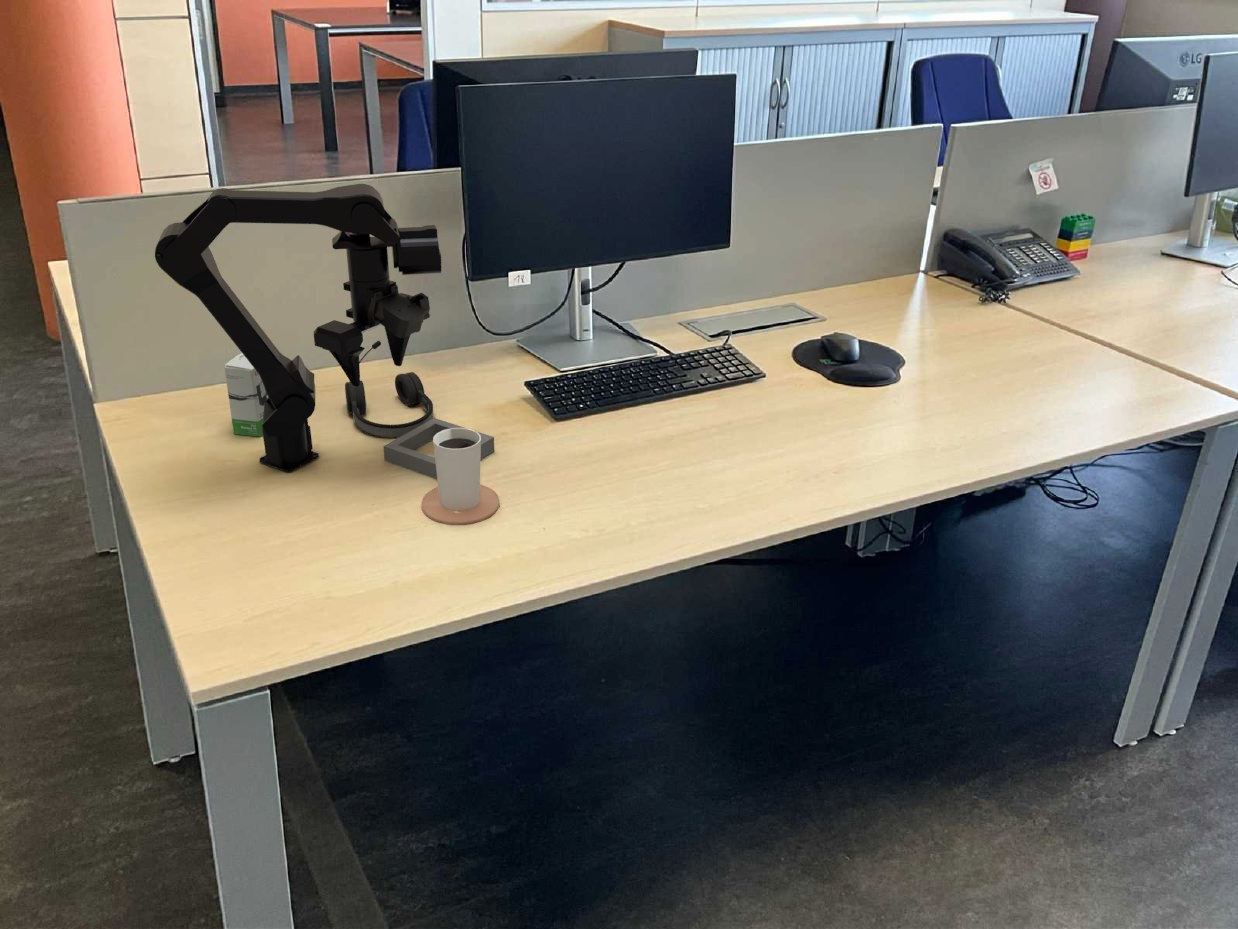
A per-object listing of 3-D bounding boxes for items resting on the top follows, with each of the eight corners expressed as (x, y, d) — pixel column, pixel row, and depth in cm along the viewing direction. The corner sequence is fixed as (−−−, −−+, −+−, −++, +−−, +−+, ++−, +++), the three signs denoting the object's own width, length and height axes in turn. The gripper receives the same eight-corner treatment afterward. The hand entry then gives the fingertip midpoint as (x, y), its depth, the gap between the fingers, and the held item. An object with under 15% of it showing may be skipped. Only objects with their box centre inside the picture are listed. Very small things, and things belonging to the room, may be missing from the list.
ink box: (260, 438, 172) (251, 369, 167) (232, 434, 173) (221, 365, 168) (286, 415, 180) (277, 348, 174) (258, 411, 181) (249, 345, 175)
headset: (407, 335, 187) (443, 389, 173) (409, 381, 192) (444, 438, 178) (332, 346, 181) (362, 403, 168) (335, 393, 187) (365, 452, 173)
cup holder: (445, 481, 162) (444, 467, 160) (384, 460, 167) (383, 446, 166) (494, 451, 171) (494, 436, 170) (435, 431, 176) (434, 417, 175)
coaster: (467, 532, 149) (466, 529, 149) (405, 509, 154) (405, 506, 154) (514, 499, 158) (514, 495, 157) (454, 478, 163) (454, 475, 162)
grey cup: (477, 486, 160) (474, 425, 155) (488, 508, 154) (486, 445, 149) (432, 492, 158) (428, 431, 153) (441, 515, 152) (438, 452, 147)
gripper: (366, 305, 145) (375, 410, 153) (454, 269, 159) (458, 367, 167) (305, 289, 150) (317, 392, 158) (396, 255, 164) (403, 351, 172)
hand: (377, 375), depth 163 cm, fingers open, 9 cm apart
